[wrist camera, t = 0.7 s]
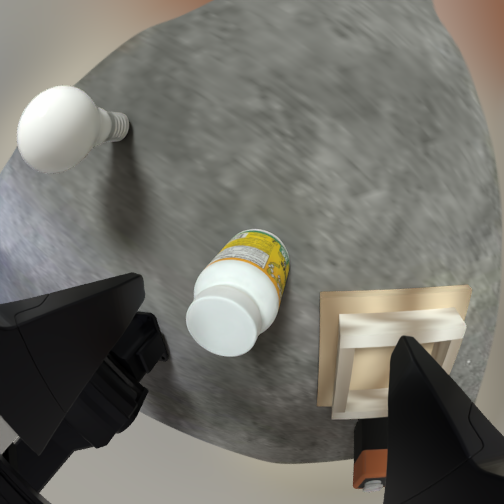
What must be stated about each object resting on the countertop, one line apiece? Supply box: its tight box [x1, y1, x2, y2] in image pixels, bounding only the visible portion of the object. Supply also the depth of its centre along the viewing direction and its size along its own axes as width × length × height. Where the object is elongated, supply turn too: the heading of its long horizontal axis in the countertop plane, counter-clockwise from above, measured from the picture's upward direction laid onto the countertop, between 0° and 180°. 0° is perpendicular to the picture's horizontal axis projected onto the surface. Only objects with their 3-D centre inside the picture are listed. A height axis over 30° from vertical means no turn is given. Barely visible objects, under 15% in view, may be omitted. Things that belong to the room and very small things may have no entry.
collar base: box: [317, 285, 472, 419], centre depth 22 cm, size 14×14×4 cm
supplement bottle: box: [186, 229, 290, 357], centre depth 19 cm, size 5×5×10 cm
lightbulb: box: [17, 85, 129, 174], centre depth 16 cm, size 6×6×11 cm
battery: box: [353, 417, 388, 492], centre depth 22 cm, size 4×7×10 cm, turn 91°
